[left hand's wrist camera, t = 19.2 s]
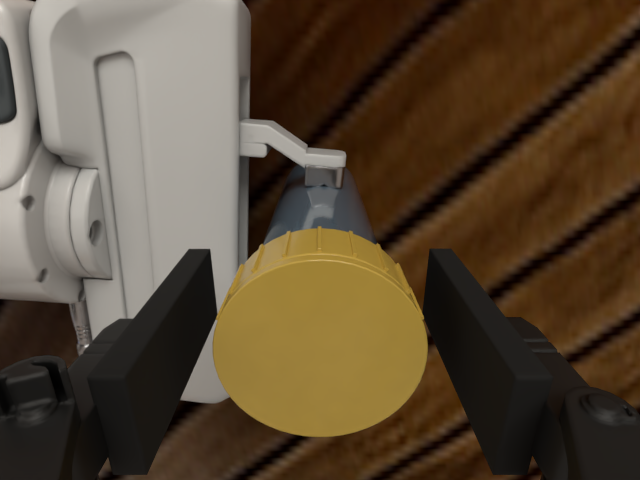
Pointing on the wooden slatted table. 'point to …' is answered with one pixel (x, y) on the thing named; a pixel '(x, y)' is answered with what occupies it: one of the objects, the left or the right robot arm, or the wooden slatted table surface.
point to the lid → (320, 334)
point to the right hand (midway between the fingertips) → (338, 230)
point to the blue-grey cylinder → (319, 208)
